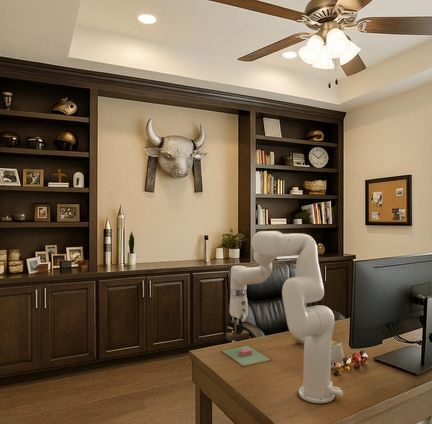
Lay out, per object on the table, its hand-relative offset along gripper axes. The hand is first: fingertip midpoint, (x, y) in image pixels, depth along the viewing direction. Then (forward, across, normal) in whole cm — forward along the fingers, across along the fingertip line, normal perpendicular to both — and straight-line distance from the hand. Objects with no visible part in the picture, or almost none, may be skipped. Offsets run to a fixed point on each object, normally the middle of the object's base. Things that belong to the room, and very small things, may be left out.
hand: (237, 331), depth 181 cm
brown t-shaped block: (+3, 0, 0) cm, 3 cm away
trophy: (+9, -20, -31) cm, 38 cm away
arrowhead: (+9, -38, -27) cm, 47 cm away
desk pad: (+9, -8, 0) cm, 12 cm away
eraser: (+8, -8, 0) cm, 11 cm away
